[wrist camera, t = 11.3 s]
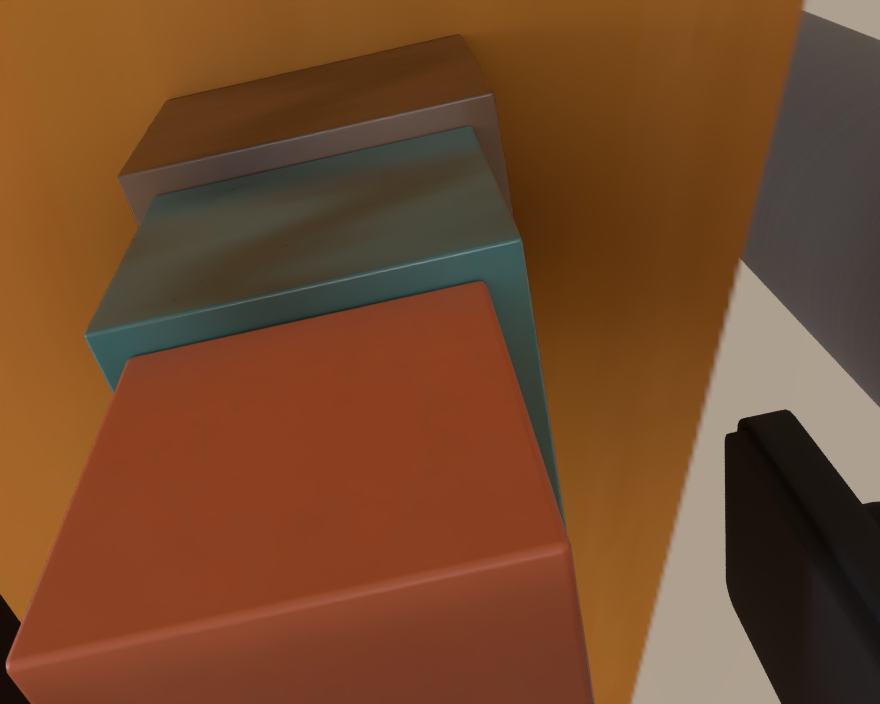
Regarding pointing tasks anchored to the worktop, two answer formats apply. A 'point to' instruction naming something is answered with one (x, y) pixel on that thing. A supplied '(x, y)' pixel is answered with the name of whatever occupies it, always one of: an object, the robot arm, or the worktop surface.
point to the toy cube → (314, 526)
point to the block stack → (321, 209)
